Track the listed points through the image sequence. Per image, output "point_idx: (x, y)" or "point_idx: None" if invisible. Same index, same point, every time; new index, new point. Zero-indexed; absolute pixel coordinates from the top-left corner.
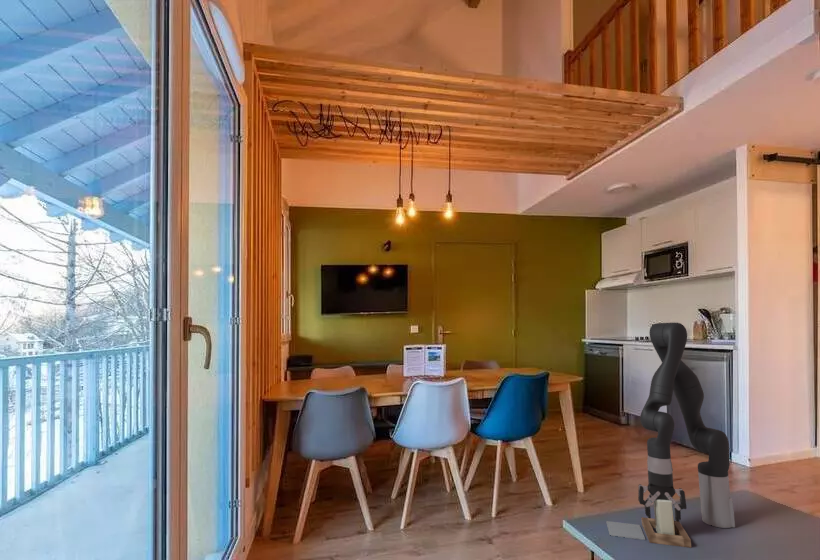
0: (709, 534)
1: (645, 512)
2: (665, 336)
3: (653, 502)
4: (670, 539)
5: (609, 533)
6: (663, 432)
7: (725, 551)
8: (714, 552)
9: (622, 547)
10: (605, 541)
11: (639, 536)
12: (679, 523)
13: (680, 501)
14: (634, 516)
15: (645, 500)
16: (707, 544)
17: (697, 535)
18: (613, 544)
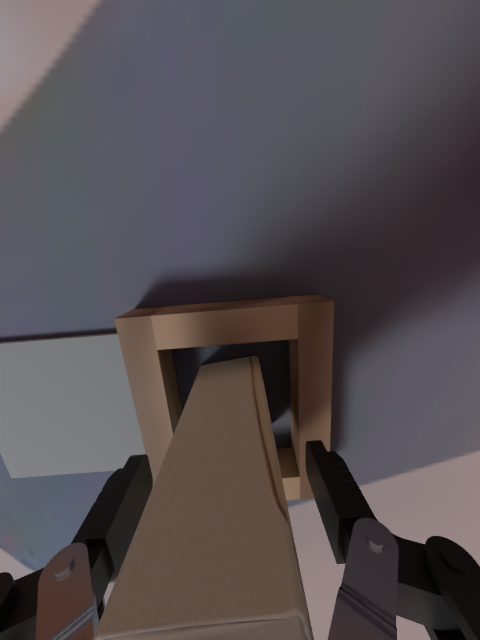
0: (444, 311)
1: (107, 490)
2: None
3: (142, 517)
4: None
5: (8, 468)
6: None
7: (435, 451)
8: (389, 471)
9: None
10: (14, 516)
11: (127, 455)
12: (326, 335)
13: (464, 631)
14: (86, 195)
15: (39, 608)
16: (390, 418)
17: (381, 343)
18: (45, 527)
